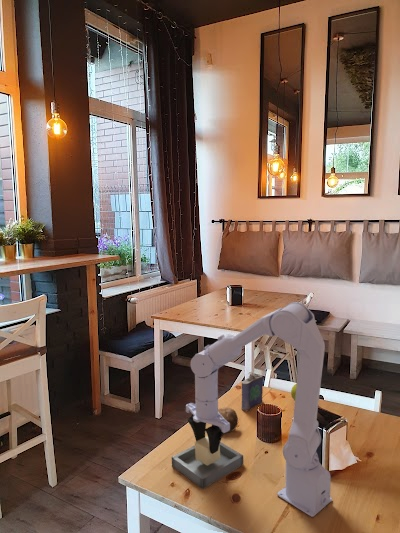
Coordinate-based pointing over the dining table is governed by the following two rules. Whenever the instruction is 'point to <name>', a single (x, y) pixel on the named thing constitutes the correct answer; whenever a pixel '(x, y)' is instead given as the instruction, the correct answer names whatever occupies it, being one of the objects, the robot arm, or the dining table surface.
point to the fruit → (294, 391)
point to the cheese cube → (205, 452)
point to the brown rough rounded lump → (229, 417)
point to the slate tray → (202, 472)
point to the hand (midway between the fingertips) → (207, 447)
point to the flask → (252, 391)
